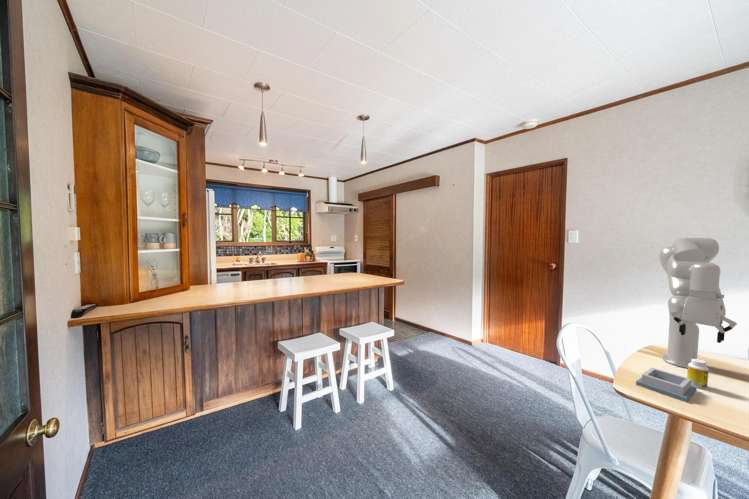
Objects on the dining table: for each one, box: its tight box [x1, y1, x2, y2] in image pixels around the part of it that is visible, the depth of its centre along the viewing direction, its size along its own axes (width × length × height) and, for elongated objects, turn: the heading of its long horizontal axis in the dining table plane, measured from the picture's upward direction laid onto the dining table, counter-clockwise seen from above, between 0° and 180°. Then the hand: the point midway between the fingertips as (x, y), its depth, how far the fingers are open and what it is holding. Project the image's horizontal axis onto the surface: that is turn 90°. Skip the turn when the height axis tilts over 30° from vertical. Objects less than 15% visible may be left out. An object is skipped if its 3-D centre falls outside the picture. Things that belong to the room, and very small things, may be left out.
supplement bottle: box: [686, 358, 710, 390], centre depth 115 cm, size 6×6×10 cm
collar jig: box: [635, 367, 697, 403], centre depth 114 cm, size 14×14×4 cm
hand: (700, 338), depth 114 cm, fingers open, 9 cm apart
